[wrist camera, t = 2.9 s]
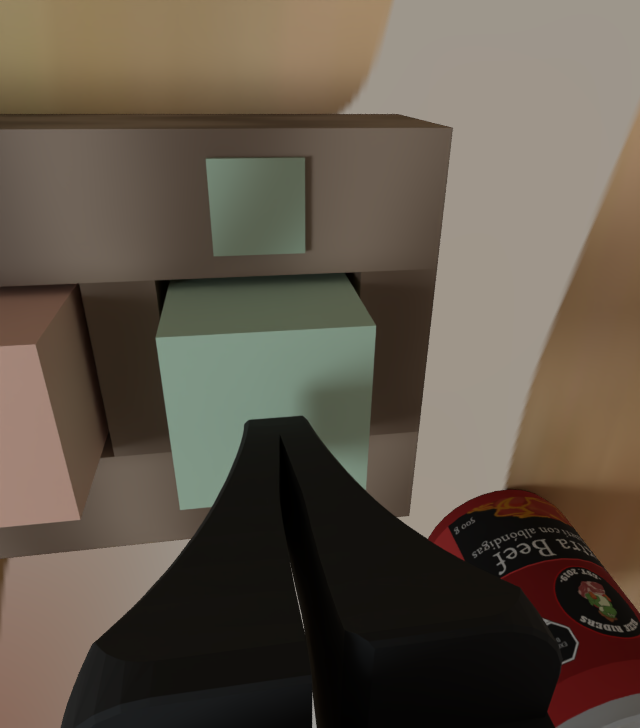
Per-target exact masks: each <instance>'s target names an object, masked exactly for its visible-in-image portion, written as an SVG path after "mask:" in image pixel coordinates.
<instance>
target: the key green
mask: <svg viewBox="0 0 640 728" xmlns="http://www.w3.org/2000/svg"><path fill="white" fill-rule="evenodd" d="M375 337H376V324H375V323H374V321H373V319H372V318H371V316H370V314H369V313H368V311H367V309H366V308H365V306H364V304H363V303H362V301H361V299H360V298H359V296H358V294H357V293H356V291H355V289H354V288H353V286H352V284H351V283H350V281H349V279H348V278H347V276H346V274H345V273H322V274H297V275H273V276H248V277H224V278H199V279H175V280H170V283H169V287H168V290H167V294H166V298H165V302H164V306H163V310H162V314H161V318H160V322H159V326H158V330H157V334H156V345H157V352H158V359H159V366H160V373H161V380H162V387H163V394H164V401H165V408H166V415H167V422H168V429H169V436H170V443H171V450H172V457H173V464H174V471H175V478H176V485H177V491H178V498H179V505H180V510H186V509H196V508H206V507H212V506H213V504H214V502H215V500H216V498H217V496H218V494H219V492H220V491H221V489H222V487H223V485H224V483H225V481H226V479H227V477H228V474H229V472H230V470H231V467H232V465H233V462H234V460H235V458H236V455H237V452H238V449H239V446H240V443H241V440H242V436H243V431H244V424H245V423H246V422H247V421H248V420H251V419H264V418H277V417H290V416H304V417H305V418H306V419H307V420H308V421H309V423H310V425H311V426H312V428H313V429H314V431H315V432H316V434H317V435H318V436H319V438H320V439H321V440H322V442H323V443H324V444H325V446H326V447H327V448H328V450H329V451H330V452H331V453H332V454H333V456H334V457H335V458H336V459H337V460H338V461H339V463H340V464H341V465H342V466H343V467H344V468H345V470H346V471H347V472H348V473H349V474H350V475H351V476H352V477H353V478H354V479H355V480H356V481H357V482H358V483H359V484H360V485H361V486H362V487H363V488H364V489H365V490H366V481H367V465H368V449H369V433H370V417H371V401H372V385H373V369H374V353H375Z"/></svg>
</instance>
